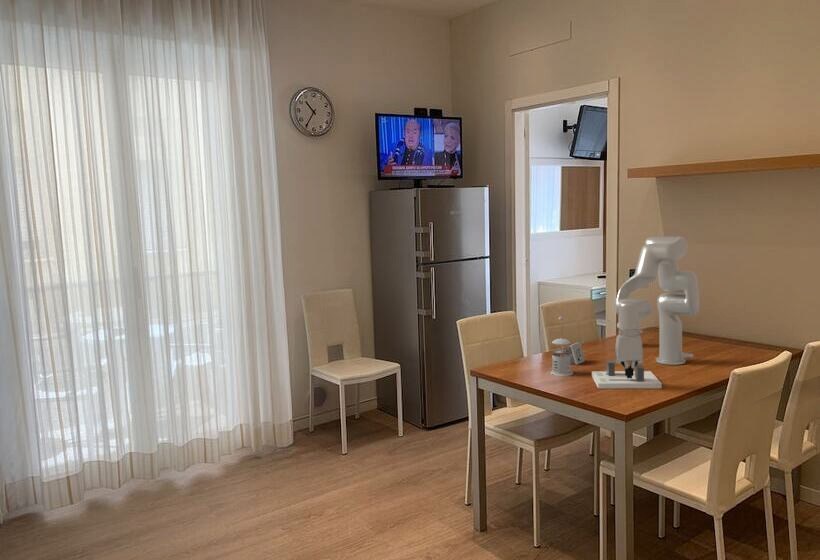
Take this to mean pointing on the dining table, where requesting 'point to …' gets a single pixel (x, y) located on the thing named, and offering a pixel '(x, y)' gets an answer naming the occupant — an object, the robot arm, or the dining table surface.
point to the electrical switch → (576, 353)
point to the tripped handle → (639, 373)
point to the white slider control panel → (623, 379)
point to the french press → (561, 358)
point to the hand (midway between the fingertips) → (629, 377)
